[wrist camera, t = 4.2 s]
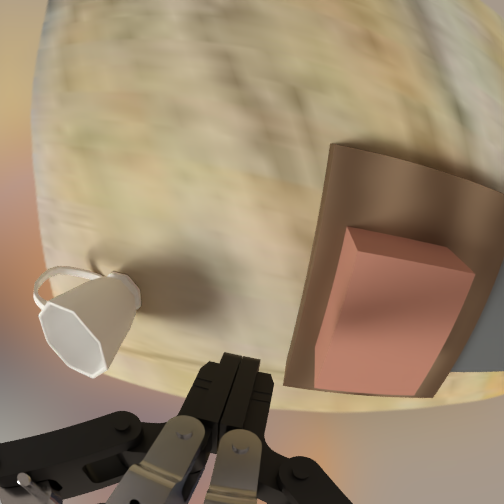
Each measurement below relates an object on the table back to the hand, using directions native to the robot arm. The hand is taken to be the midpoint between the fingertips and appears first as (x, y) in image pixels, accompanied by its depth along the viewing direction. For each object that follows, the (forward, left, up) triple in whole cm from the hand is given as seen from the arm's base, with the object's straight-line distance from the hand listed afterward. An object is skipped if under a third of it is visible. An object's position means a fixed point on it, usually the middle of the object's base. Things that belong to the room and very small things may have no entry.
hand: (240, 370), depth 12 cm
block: (+8, 0, -8) cm, 11 cm away
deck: (+10, 0, -11) cm, 15 cm away
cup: (-14, -5, -11) cm, 19 cm away
